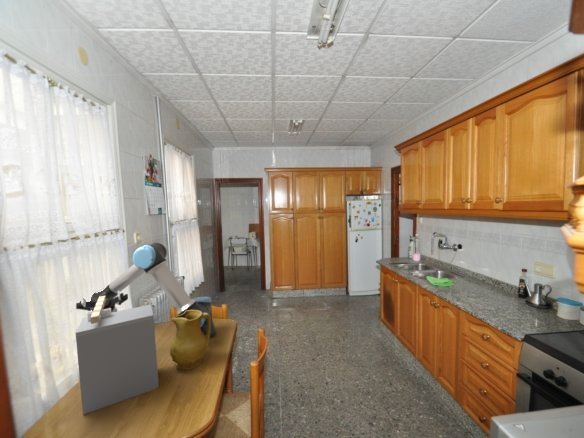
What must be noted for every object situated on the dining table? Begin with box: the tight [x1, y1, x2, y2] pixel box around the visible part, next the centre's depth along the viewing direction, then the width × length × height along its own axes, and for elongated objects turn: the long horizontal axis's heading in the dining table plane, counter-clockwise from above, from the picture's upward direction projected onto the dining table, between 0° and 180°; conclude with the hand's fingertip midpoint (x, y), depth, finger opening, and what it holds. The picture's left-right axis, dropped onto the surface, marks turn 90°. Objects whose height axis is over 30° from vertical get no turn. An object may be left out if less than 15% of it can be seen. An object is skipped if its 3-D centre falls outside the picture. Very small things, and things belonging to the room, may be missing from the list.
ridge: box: [86, 308, 112, 321], centre depth 113 cm, size 2×8×3 cm, turn 121°
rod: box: [91, 296, 106, 324], centre depth 113 cm, size 30×2×2 cm, turn 31°
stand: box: [75, 303, 160, 416], centre depth 113 cm, size 16×26×32 cm, turn 121°
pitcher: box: [169, 310, 211, 371], centre depth 131 cm, size 17×19×25 cm
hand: (100, 296), depth 120 cm, fingers open, 13 cm apart
